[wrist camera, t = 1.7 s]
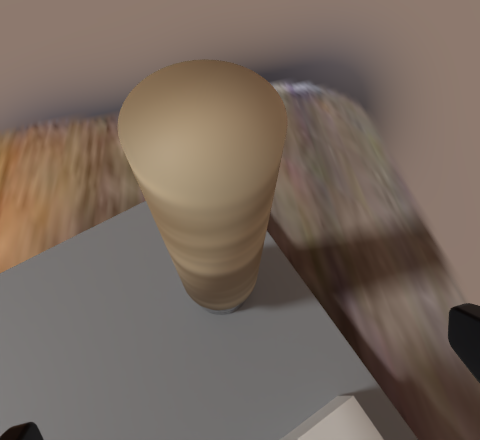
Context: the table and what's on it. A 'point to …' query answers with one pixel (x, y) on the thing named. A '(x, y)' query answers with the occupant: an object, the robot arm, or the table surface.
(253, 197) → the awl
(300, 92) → the table surface
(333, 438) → the white flat block
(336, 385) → the floor panel
